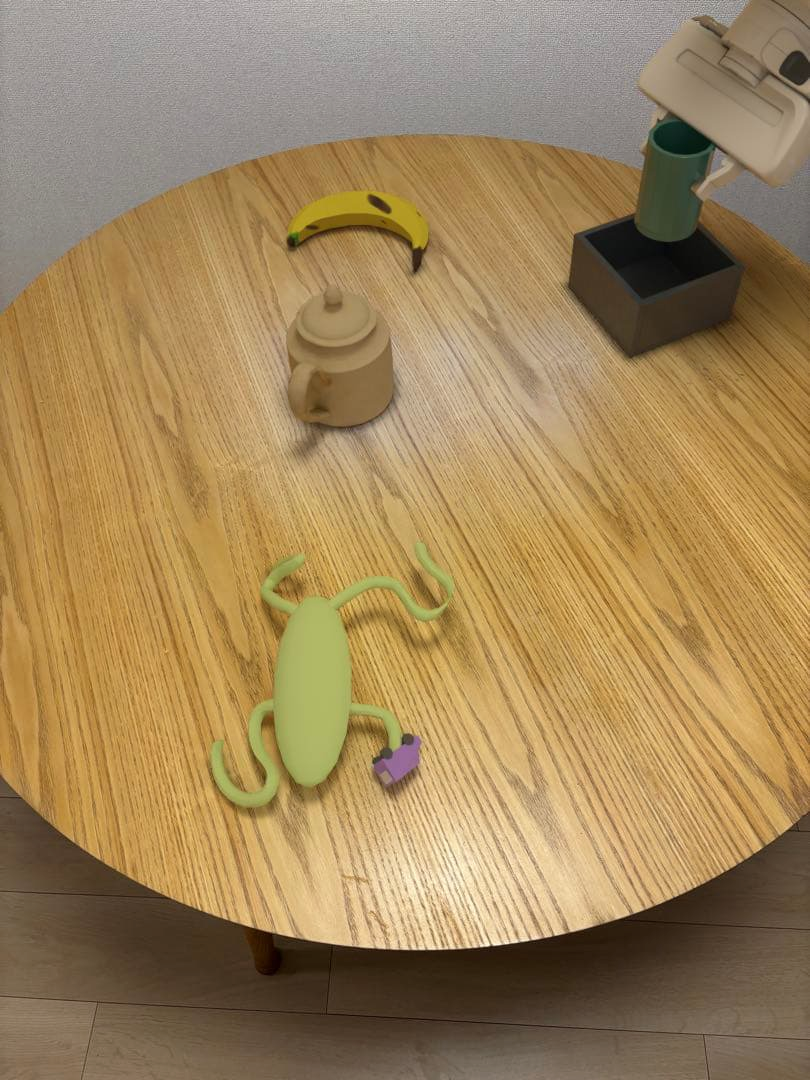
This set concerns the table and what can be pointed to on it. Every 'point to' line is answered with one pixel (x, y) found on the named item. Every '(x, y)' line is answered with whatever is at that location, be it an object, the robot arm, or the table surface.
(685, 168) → the cup
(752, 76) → the robot arm
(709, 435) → the table surface
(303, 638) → the figurine
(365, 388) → the sugar bowl
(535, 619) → the table surface
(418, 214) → the banana
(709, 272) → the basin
